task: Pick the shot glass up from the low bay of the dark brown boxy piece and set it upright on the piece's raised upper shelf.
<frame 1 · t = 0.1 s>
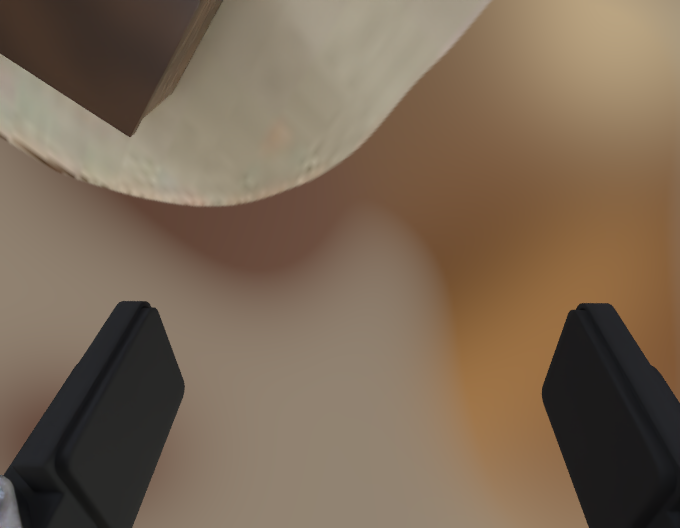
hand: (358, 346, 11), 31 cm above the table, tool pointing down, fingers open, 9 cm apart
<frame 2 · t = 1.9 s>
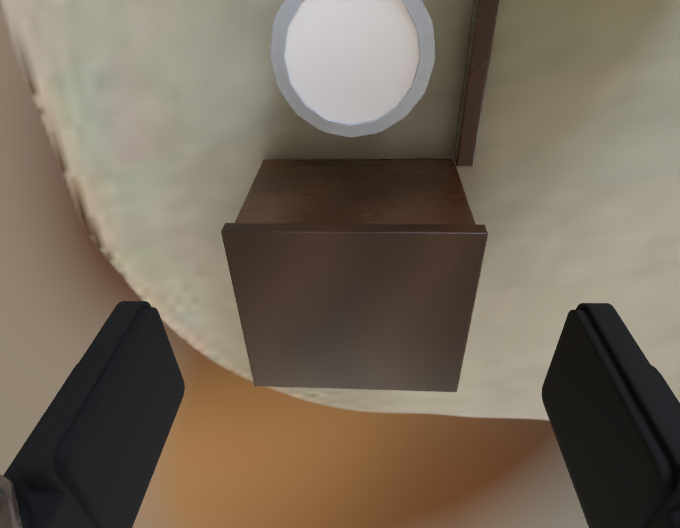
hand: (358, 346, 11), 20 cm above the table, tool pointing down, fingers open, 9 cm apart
shot glass: (356, 26, 25), on the table
dark brown boxy piece: (356, 27, 24), on the table
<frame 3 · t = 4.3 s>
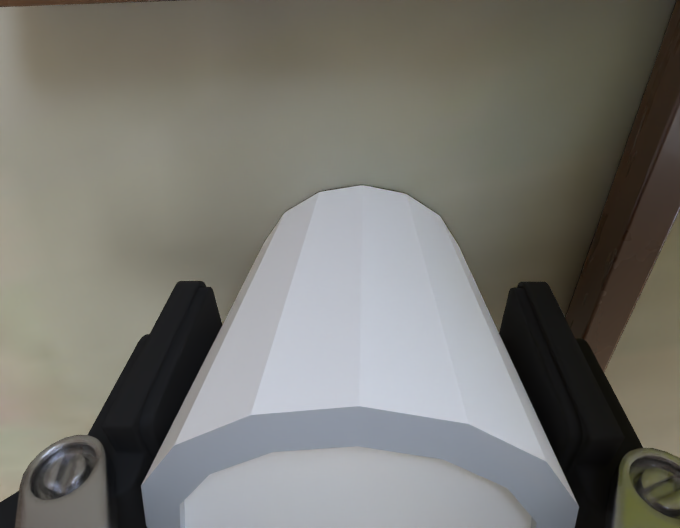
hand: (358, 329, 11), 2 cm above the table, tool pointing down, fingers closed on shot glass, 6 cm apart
shot glass: (360, 271, 13), on the table, touching gripper
dark brown boxy piece: (360, 275, 13), on the table
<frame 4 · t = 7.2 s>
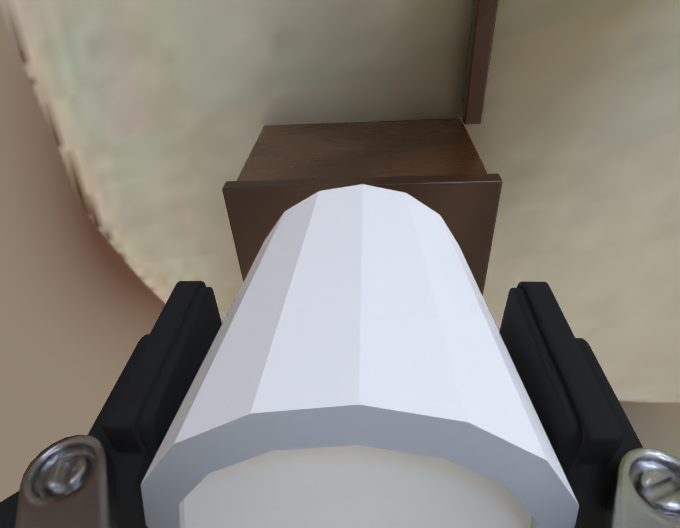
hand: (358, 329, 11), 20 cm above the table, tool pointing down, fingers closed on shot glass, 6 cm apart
shot glass: (360, 270, 13), point 17 cm above the table, touching gripper
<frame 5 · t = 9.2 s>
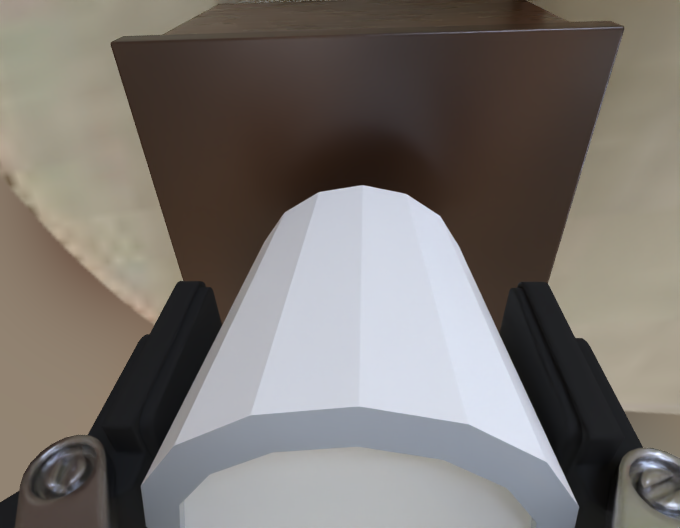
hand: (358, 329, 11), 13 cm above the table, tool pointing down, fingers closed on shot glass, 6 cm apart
shot glass: (360, 271, 13), point 11 cm above the table, touching gripper
when the fingers open (11 cm above the table, at t = 10.4 s): shot glass stays where it is, resting on dark brown boxy piece.
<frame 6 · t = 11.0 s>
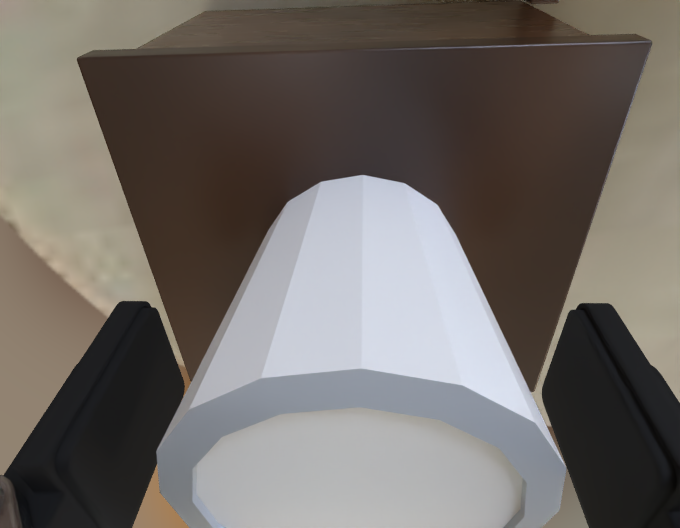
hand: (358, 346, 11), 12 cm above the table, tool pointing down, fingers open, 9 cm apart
shot glass: (360, 259, 14), point 9 cm above the table, touching dark brown boxy piece
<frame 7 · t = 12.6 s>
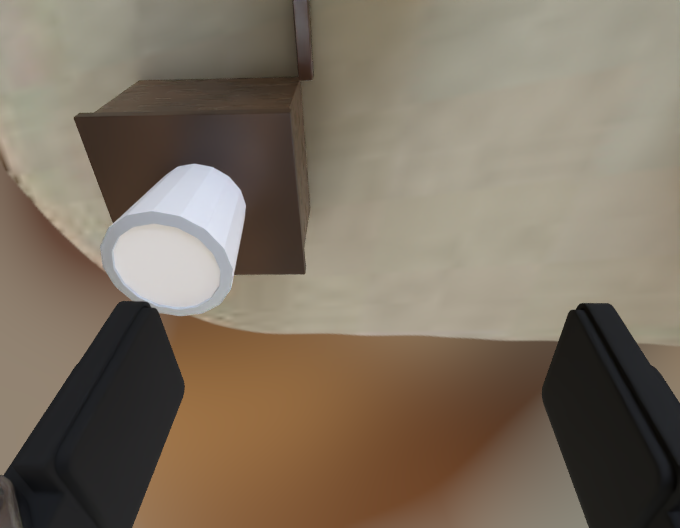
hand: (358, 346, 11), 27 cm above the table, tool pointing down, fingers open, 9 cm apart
shot glass: (203, 202, 30), point 9 cm above the table, touching dark brown boxy piece
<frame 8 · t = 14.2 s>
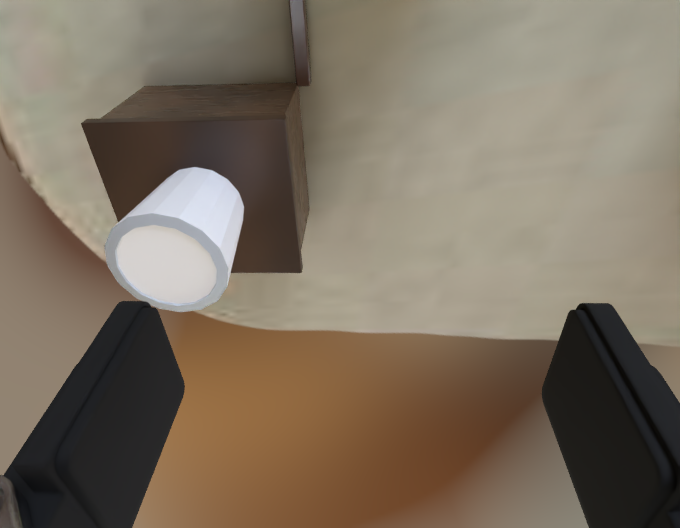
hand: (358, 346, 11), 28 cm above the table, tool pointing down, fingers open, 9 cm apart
shot glass: (203, 204, 31), point 9 cm above the table, touching dark brown boxy piece
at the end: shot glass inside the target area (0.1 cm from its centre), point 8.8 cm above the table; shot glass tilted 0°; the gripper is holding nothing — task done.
